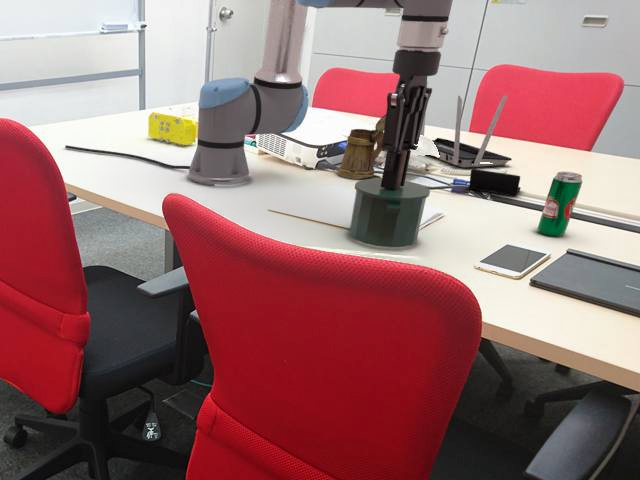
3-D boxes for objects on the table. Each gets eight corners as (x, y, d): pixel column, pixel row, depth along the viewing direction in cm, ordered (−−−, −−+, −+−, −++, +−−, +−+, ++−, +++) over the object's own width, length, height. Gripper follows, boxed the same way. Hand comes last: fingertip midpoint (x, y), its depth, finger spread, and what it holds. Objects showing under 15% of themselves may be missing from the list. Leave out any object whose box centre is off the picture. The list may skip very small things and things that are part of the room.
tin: (349, 251, 122) (358, 201, 117) (348, 221, 137) (355, 176, 132) (420, 257, 120) (432, 206, 115) (410, 227, 135) (420, 181, 130)
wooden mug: (372, 185, 163) (386, 109, 154) (330, 173, 173) (341, 101, 164) (394, 180, 168) (409, 106, 159) (352, 169, 177) (364, 99, 168)
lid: (355, 200, 119) (362, 155, 115) (353, 182, 131) (360, 140, 127) (432, 207, 117) (443, 160, 113) (424, 187, 128) (433, 144, 124)
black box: (521, 182, 162) (525, 154, 153) (518, 205, 159) (523, 178, 151) (470, 182, 167) (471, 155, 158) (467, 205, 164) (468, 179, 156)
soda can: (531, 229, 135) (549, 171, 129) (554, 229, 135) (573, 171, 129) (545, 237, 131) (565, 177, 125) (569, 237, 131) (590, 177, 125)
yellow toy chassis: (147, 139, 207) (147, 111, 203) (160, 137, 210) (160, 109, 206) (182, 147, 197) (183, 118, 193) (195, 145, 200) (197, 116, 196)
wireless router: (525, 171, 179) (548, 93, 169) (455, 176, 173) (474, 95, 163) (446, 145, 207) (462, 77, 197) (383, 148, 201) (395, 78, 191)
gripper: (420, 53, 104) (391, 198, 116) (458, 48, 114) (429, 182, 126) (377, 49, 109) (353, 190, 120) (417, 45, 119) (392, 175, 130)
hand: (392, 186), depth 123 cm, fingers closed on lid, 3 cm apart
